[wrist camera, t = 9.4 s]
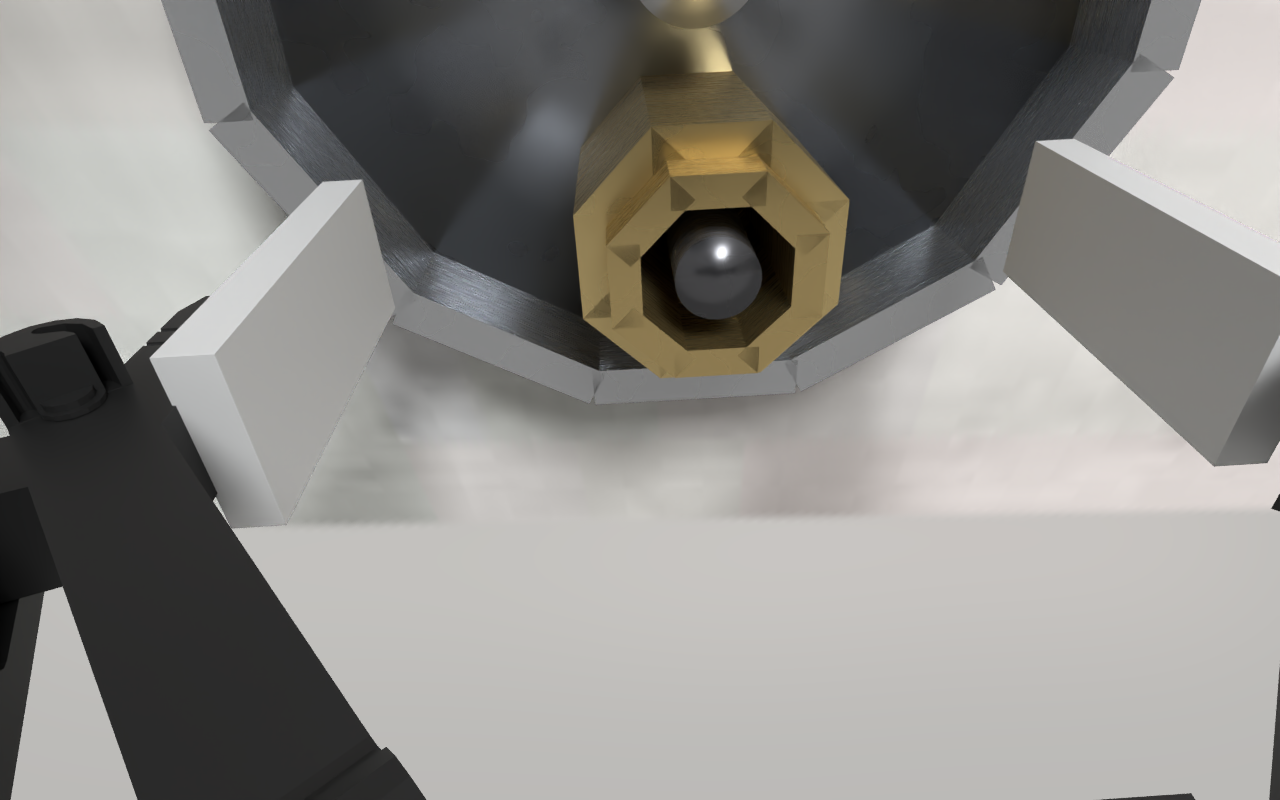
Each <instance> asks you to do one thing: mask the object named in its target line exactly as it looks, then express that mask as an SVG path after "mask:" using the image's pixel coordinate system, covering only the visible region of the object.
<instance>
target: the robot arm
mask: <svg viewBox="0 0 1280 800" xmlns="http://www.w3.org/2000/svg"><path fill="white" fill-rule="evenodd" d="M1003 272H1004V273H1005V274H1006V275H1007V276H1008V277H1009V278H1010V279H1011V280H1012V281H1013V282H1015V283H1016V284H1017V285H1018V286H1019V287H1020V288H1021V289H1022V290H1023V291H1024V292H1025V293H1026V294H1028V295H1029V296H1030V297H1031V298H1032V299H1033V300H1034V301H1035V302H1036V303H1037V304H1038V305H1039V306H1041V307H1042V308H1043V309H1044V310H1045V311H1046V312H1047V313H1048V314H1049V315H1050V316H1051V317H1052V318H1054V319H1055V320H1056V321H1057V322H1058V323H1059V324H1060V325H1061V326H1062V327H1063V328H1064V329H1066V330H1067V331H1068V332H1069V333H1070V334H1071V335H1072V336H1073V337H1074V338H1075V339H1076V340H1077V341H1079V342H1080V343H1081V344H1082V345H1083V346H1084V347H1085V348H1086V349H1087V350H1088V351H1089V352H1090V353H1092V354H1093V355H1094V356H1095V357H1096V358H1097V359H1098V360H1099V361H1100V362H1101V363H1102V364H1103V365H1105V366H1106V367H1107V368H1108V369H1109V370H1110V371H1111V372H1112V373H1113V374H1114V375H1115V376H1116V377H1118V378H1119V379H1120V380H1121V381H1122V382H1123V383H1124V384H1125V385H1126V386H1127V387H1128V388H1129V389H1131V390H1132V391H1133V392H1134V393H1135V394H1136V395H1137V396H1138V397H1139V398H1140V399H1141V400H1143V401H1144V402H1145V403H1146V404H1147V405H1148V406H1149V407H1150V408H1151V409H1152V410H1153V411H1154V412H1156V413H1157V414H1158V415H1159V416H1160V417H1161V418H1162V419H1163V420H1164V421H1165V422H1166V423H1167V424H1169V425H1170V426H1171V427H1172V428H1173V429H1174V430H1175V431H1176V432H1177V433H1178V434H1179V435H1180V436H1182V437H1183V438H1184V439H1185V440H1186V441H1187V442H1188V443H1189V444H1190V445H1191V446H1192V447H1193V448H1195V449H1196V450H1197V451H1198V452H1199V453H1200V454H1201V455H1202V456H1203V457H1204V458H1205V459H1207V460H1208V461H1209V462H1210V463H1211V464H1212V465H1213V466H1228V465H1244V464H1259V463H1268V461H1269V459H1270V457H1271V455H1272V454H1273V452H1274V450H1275V448H1276V446H1277V445H1278V443H1279V441H1280V242H1278V241H1276V240H1274V239H1272V238H1271V237H1269V236H1267V235H1265V234H1263V233H1261V232H1259V231H1257V230H1255V229H1253V228H1251V227H1249V226H1247V225H1245V224H1243V223H1241V222H1239V221H1237V220H1235V219H1233V218H1231V217H1229V216H1227V215H1225V214H1223V213H1221V212H1219V211H1217V210H1215V209H1213V208H1211V207H1209V206H1207V205H1205V204H1203V203H1201V202H1199V201H1197V200H1195V199H1193V198H1191V197H1189V196H1187V195H1185V194H1183V193H1181V192H1179V191H1177V190H1175V189H1173V188H1171V187H1169V186H1167V185H1165V184H1163V183H1161V182H1159V181H1157V180H1155V179H1153V178H1151V177H1149V176H1147V175H1145V174H1143V173H1141V172H1139V171H1137V170H1135V169H1133V168H1131V167H1129V166H1127V165H1125V164H1123V163H1121V162H1119V161H1117V160H1116V159H1114V158H1112V157H1110V156H1108V155H1106V154H1104V153H1102V152H1100V151H1098V150H1096V149H1094V148H1092V147H1090V146H1088V145H1086V144H1084V143H1082V142H1080V141H1078V140H1076V139H1063V140H1045V141H1035V145H1034V149H1033V153H1032V157H1031V161H1030V165H1029V169H1028V173H1027V177H1026V181H1025V185H1024V189H1023V193H1022V197H1021V201H1020V205H1019V209H1018V213H1017V217H1016V221H1015V225H1014V229H1013V233H1012V237H1011V241H1010V245H1009V249H1008V253H1007V257H1006V261H1005V265H1004V270H1003ZM394 309H395V305H394V301H393V297H392V293H391V289H390V286H389V282H388V278H387V274H386V270H385V266H384V262H383V258H382V254H381V250H380V246H379V242H378V238H377V234H376V230H375V227H374V223H373V219H372V215H371V211H370V207H369V203H368V199H367V195H366V191H365V187H364V183H363V180H345V181H328V182H322V183H321V184H320V185H319V186H318V187H317V188H316V189H315V190H314V191H313V192H312V193H311V194H310V195H309V196H308V197H307V198H306V199H305V200H304V201H303V202H302V203H301V204H300V205H299V206H298V207H297V208H296V209H295V210H294V211H293V212H292V213H291V215H290V216H289V217H288V218H287V219H286V220H285V221H284V222H283V223H282V224H281V225H280V226H279V227H278V228H277V229H276V230H275V231H274V232H273V233H272V234H271V235H270V236H269V237H268V238H267V239H266V240H265V241H264V242H263V243H262V244H261V245H260V246H259V247H258V248H257V249H256V250H255V251H254V252H253V253H252V254H251V255H250V256H249V257H248V258H247V259H246V260H245V261H244V262H243V263H242V264H241V265H240V266H239V267H238V268H237V269H236V271H235V272H234V273H233V274H232V275H231V276H230V277H229V278H228V279H227V280H226V281H225V282H224V283H223V284H222V285H221V286H220V287H219V288H218V289H217V290H216V291H215V292H214V293H213V294H212V295H211V296H206V297H204V298H202V299H200V300H198V301H197V302H195V303H193V304H191V305H189V306H188V307H186V308H184V309H182V310H180V311H179V312H177V313H176V314H175V315H174V316H173V317H172V318H171V319H170V320H169V321H168V322H167V323H166V324H165V325H164V326H163V327H162V328H161V332H157V333H156V334H155V335H154V336H153V337H152V338H151V339H150V340H149V341H148V342H147V346H143V347H142V348H140V349H139V350H138V351H137V352H136V353H135V354H134V355H133V356H132V357H131V358H130V359H129V360H128V361H127V362H126V363H125V364H124V363H123V361H122V359H121V357H120V355H119V353H118V351H117V350H116V348H115V346H114V344H113V342H112V340H111V338H110V336H109V334H108V332H107V330H106V328H105V326H104V325H103V324H101V323H100V322H98V321H96V320H91V319H80V318H75V319H66V320H56V321H51V322H47V323H43V324H39V325H34V326H30V327H27V328H24V329H22V330H19V331H16V332H13V333H11V334H8V335H5V336H3V337H1V338H0V418H1V419H2V421H3V422H4V424H5V425H6V427H7V429H8V432H9V434H10V436H7V437H3V438H0V800H10V799H11V793H12V787H13V781H14V775H15V768H16V762H17V756H18V750H19V744H20V738H21V732H22V726H23V719H24V713H25V707H26V700H27V695H28V689H29V682H30V676H31V670H32V664H33V658H34V652H35V645H36V639H37V633H38V627H39V621H40V615H41V608H42V602H43V596H44V592H45V591H48V590H52V589H55V588H58V587H62V586H63V588H64V591H65V594H66V597H67V599H68V603H69V605H70V608H71V611H72V614H73V616H74V620H75V623H76V625H77V628H78V631H79V634H80V637H81V640H82V642H83V645H84V648H85V651H86V654H87V656H88V660H89V662H90V665H91V668H92V671H93V674H94V677H95V680H96V682H97V685H98V688H99V691H100V694H101V697H102V699H103V702H104V705H105V708H106V711H107V713H108V716H109V719H110V722H111V725H112V728H113V731H114V733H115V737H116V739H117V742H118V745H119V748H120V751H121V754H122V756H123V759H124V762H125V765H126V768H127V771H128V773H129V776H130V779H131V782H132V785H133V788H134V791H135V794H136V796H137V799H138V800H426V799H425V797H424V796H423V794H422V793H421V791H420V790H419V788H418V787H417V785H416V784H415V783H414V781H413V779H412V778H411V777H410V775H409V774H408V773H407V771H406V770H405V768H404V767H403V766H402V764H401V763H400V762H399V760H398V759H397V758H396V756H395V755H394V754H393V753H392V752H391V751H390V750H389V749H388V748H387V747H385V748H384V749H382V750H381V749H380V748H379V747H378V746H377V745H376V743H375V742H374V740H373V739H372V738H371V736H370V735H369V733H368V732H367V731H366V729H365V727H364V726H363V724H362V723H361V722H360V720H359V718H358V717H357V715H356V714H355V713H354V711H353V710H352V708H351V707H350V705H349V704H348V702H347V701H346V699H345V698H344V696H343V695H342V693H341V692H340V690H339V689H338V687H337V686H336V684H335V683H334V681H333V680H332V678H331V677H330V675H329V674H328V673H327V671H326V670H325V668H324V666H323V665H322V663H321V662H320V660H319V659H318V657H317V656H316V654H315V653H314V651H313V650H312V648H311V647H310V645H309V644H308V642H307V641H306V640H305V638H304V637H303V635H302V634H301V632H300V631H299V629H298V628H297V626H296V625H295V623H294V622H293V620H292V619H291V617H290V616H289V614H288V613H287V611H286V610H285V608H284V607H283V605H282V604H281V603H280V601H279V600H278V598H277V596H276V595H275V593H274V592H273V590H272V589H271V587H270V586H269V584H268V583H267V581H266V580H265V578H264V577H263V575H262V574H261V572H260V571H259V569H258V568H257V567H256V565H255V564H254V562H253V561H252V559H251V558H250V556H249V555H248V553H247V552H246V550H245V549H244V547H243V546H242V544H241V543H240V541H239V540H238V538H237V537H236V535H235V534H234V532H233V531H232V529H231V528H246V527H262V526H278V525H287V523H288V521H289V519H290V517H291V515H292V513H293V511H294V509H295V507H296V505H297V503H298V501H299V499H300V497H301V495H302V493H303V491H304V489H305V487H306V485H307V483H308V481H309V479H310V477H311V475H312V473H313V471H314V469H315V467H316V465H317V463H318V461H319V459H320V457H321V455H322V453H323V451H324V449H325V447H326V445H327V443H328V441H329V439H330V437H331V435H332V433H333V431H334V429H335V427H336V425H337V423H338V421H339V419H340V417H341V415H342V413H343V411H344V409H345V407H346V405H347V403H348V401H349V399H350V397H351V395H352V393H353V391H354V389H355V387H356V385H357V383H358V381H359V379H360V377H361V375H362V373H363V371H364V369H365V367H366V365H367V363H368V361H369V359H370V357H371V355H372V353H373V351H374V349H375V347H376V345H377V343H378V341H379V339H380V337H381V335H382V333H383V331H384V329H385V327H386V325H387V323H388V321H389V319H390V317H391V315H392V313H393V311H394ZM215 497H216V498H217V500H218V502H219V504H220V506H221V508H222V510H223V512H224V514H225V516H226V519H227V521H228V523H229V525H230V526H229V525H228V523H227V522H226V520H225V519H224V517H223V516H222V514H221V513H220V511H219V510H218V508H217V507H216V505H215V504H214V502H213V500H214V498H215ZM1271 509H1274V510H1277V511H1280V494H1279V496H1278V498H1277V500H1276V501H1275V503H1274V505H1273V506H1272V508H1271ZM230 527H231V528H230ZM1269 799H1270V800H1280V671H1279V684H1278V696H1277V710H1276V722H1275V734H1274V748H1273V760H1272V773H1271V785H1270V798H1269ZM1103 800H1195V799H1194V797H1193V796H1192V794H1191V793H1190V794H1177V795H1161V796H1147V797H1132V798H1118V799H1103Z"/></svg>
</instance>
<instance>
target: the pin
mask: <svg viewBox="0 0 1280 800" xmlns="http://www.w3.org/2000/svg"><path fill="white" fill-rule="evenodd" d="M665 234H666V239H667V244H668V250H669V255H670V260H671V266H672V271H673V276H674V282H675V287H676V291H677V295H678V297H679V299H680V301H681V303H682V304H683V305H684V306H685V307H686V308H687V309H688V310H689V311H690V312H692V313H693V314H695V315H697V316H699V317H702V318H706V319H725V318H729V317H732V316H735V315H737V314H739V313H740V312H742V311H743V310H745V309H746V308H747V307H748V306H749V305H750V304H751V303H752V302H753V301H754V299H755V298H756V296H757V294H758V292H759V290H760V287H761V282H762V270H761V266H760V263H759V261H758V258H757V256H756V254H755V252H754V249H753V247H752V245H751V243H750V240H749V238H748V236H747V234H746V231H745V229H744V227H743V225H742V222H741V220H740V218H739V216H738V213H737V211H736V209H735V208H719V209H702V210H685V211H684V212H683V213H682V214H681V215H680V217H679V218H678V219H677V220H676V221H675V222H674V223H673V224H672V225H671V226H670V227H669V228H668V229H667V230H666V231H665Z"/></svg>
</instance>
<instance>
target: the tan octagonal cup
mask: <svg viewBox="0 0 1280 800" xmlns="http://www.w3.org/2000/svg"><path fill="white" fill-rule="evenodd" d="M849 201H850V200H849V198H848V197H847V196H846V195H845V194H844V193H843V192H842V190H841V189H840V188H839V187H838V186H837V185H836V183H835V182H834V181H833V180H832V179H831V178H830V176H829V175H828V174H827V173H826V172H825V171H824V170H823V168H822V167H821V166H820V165H819V164H818V163H817V161H816V160H815V159H814V158H813V157H812V156H811V154H810V153H809V152H808V151H807V150H806V149H805V147H804V146H803V145H802V144H801V143H800V142H799V141H798V139H797V138H796V137H795V136H794V135H793V134H792V133H791V132H790V131H789V130H788V129H787V128H786V127H785V125H784V124H783V123H782V122H781V121H780V120H779V119H778V118H777V117H776V116H775V115H774V114H773V113H772V112H771V111H770V110H769V109H768V108H767V107H766V106H765V104H764V103H763V102H762V101H761V100H760V99H759V98H758V97H757V96H756V95H755V94H754V93H753V92H752V91H751V90H750V89H749V88H748V87H747V86H746V85H745V84H744V82H743V81H742V80H741V79H740V78H739V77H738V76H737V75H736V74H735V73H734V72H733V71H723V72H705V73H688V74H670V75H652V76H640V77H639V78H638V79H637V81H636V82H635V83H634V84H633V85H632V87H631V88H630V89H629V90H628V91H627V93H626V94H625V95H624V96H623V97H622V98H621V100H620V101H619V102H618V103H617V104H616V106H615V107H614V108H613V109H612V110H611V112H610V113H609V114H608V115H607V116H606V117H605V119H604V120H603V121H602V122H601V123H600V125H599V126H598V127H597V128H596V129H595V131H594V132H593V133H592V134H591V135H590V136H589V138H588V139H587V140H586V141H585V142H584V144H583V145H582V146H581V149H580V158H579V167H578V176H577V185H576V194H575V203H574V212H573V220H574V230H575V240H576V250H577V260H578V271H579V281H580V291H581V301H582V312H583V319H584V320H585V321H587V322H588V323H589V324H591V325H592V326H593V327H594V328H596V329H597V330H598V331H600V332H601V333H602V334H603V335H605V336H606V337H607V338H609V339H610V340H611V341H613V342H614V343H615V344H616V345H618V346H619V347H620V348H622V349H623V350H624V351H626V352H627V353H628V354H629V355H631V356H632V357H633V358H635V359H636V360H637V361H639V362H640V363H641V364H642V365H644V366H645V367H646V368H648V369H649V370H650V371H651V372H653V373H654V374H655V375H657V376H658V377H659V378H684V377H701V376H718V375H734V374H751V373H759V372H761V371H763V370H764V369H765V368H766V367H767V366H768V365H769V364H771V363H772V362H773V361H774V360H775V359H776V358H777V357H778V356H780V355H781V354H782V353H783V352H784V351H785V350H786V349H788V348H789V347H790V346H791V345H792V344H793V343H794V342H795V341H797V340H798V339H799V338H800V337H801V336H802V335H803V334H805V333H806V332H807V331H808V330H809V329H810V328H811V327H812V326H814V325H815V324H816V323H817V322H818V321H819V320H820V319H822V318H823V317H824V316H825V315H826V314H827V313H828V312H830V311H831V310H832V309H833V308H834V307H835V306H836V305H837V304H838V301H839V292H840V282H841V273H842V264H843V255H844V246H845V237H846V228H847V219H848V210H849ZM737 207H739V208H738V209H737V210H736V211H737V213H738V216H739V218H740V220H741V222H742V225H743V227H744V229H745V231H746V234H747V236H748V238H749V240H750V243H751V245H752V247H753V249H754V252H755V254H756V256H757V258H758V261H759V263H760V266H761V270H762V282H761V287H760V290H759V292H758V294H757V296H756V298H755V299H754V301H753V302H752V303H751V304H750V305H749V306H748V307H747V308H746V309H745V310H743V311H742V312H740V313H739V314H737V315H735V316H732V317H729V318H725V319H706V318H702V317H699V316H697V315H695V314H693V313H692V312H690V311H689V310H688V309H687V308H686V307H685V306H684V305H683V304H682V303H681V301H680V299H679V297H678V295H677V291H676V287H675V282H674V276H673V271H672V266H671V260H670V255H669V250H668V244H667V239H666V238H664V237H663V236H662V234H663V233H664V232H665V231H666V230H667V229H668V228H669V227H670V226H671V225H672V224H673V223H674V222H675V221H676V220H677V219H678V218H679V217H680V215H681V214H682V213H683V212H684V211H685V210H702V209H719V208H737Z"/></svg>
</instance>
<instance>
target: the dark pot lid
mask: <svg viewBox="0 0 1280 800" xmlns="http://www.w3.org/2000/svg"><path fill="white" fill-rule="evenodd" d="M161 1H162V4H163V7H164V10H165V12H166V15H167V18H168V21H169V24H170V27H171V30H172V32H173V35H174V38H175V41H176V44H177V47H178V50H179V52H180V55H181V58H182V61H183V64H184V67H185V70H186V72H187V75H188V78H189V81H190V84H191V87H192V90H193V92H194V95H195V98H196V101H197V104H198V107H199V110H200V112H201V115H202V118H203V121H204V123H216V122H219V123H217V124H216V125H215V126H214V127H213V128H211V129H210V130H209V131H210V132H211V133H212V134H213V136H214V137H215V138H216V139H217V140H218V141H219V142H220V143H221V144H222V145H223V146H224V147H225V148H226V149H227V150H228V152H229V153H230V154H231V155H232V156H233V157H234V158H235V159H236V160H237V161H238V162H239V163H240V164H241V165H242V166H243V168H244V169H245V170H246V171H247V172H248V173H249V174H250V175H251V176H252V177H253V178H254V179H255V180H256V181H257V182H258V184H259V185H260V186H261V187H262V188H263V189H264V190H265V191H266V192H267V193H268V194H269V195H270V196H271V197H272V198H273V200H274V201H275V202H276V203H277V204H278V205H279V206H280V207H281V208H282V209H283V210H284V211H285V212H286V213H287V214H288V216H290V215H291V213H292V212H293V211H294V210H295V209H296V208H297V207H298V206H299V205H300V204H301V203H302V202H303V201H304V200H305V199H306V198H307V197H308V196H309V195H310V194H311V193H312V192H313V191H314V190H315V189H316V188H317V187H318V186H319V185H320V184H321V183H322V182H328V181H345V180H363V183H364V187H365V191H366V195H367V199H368V203H369V207H370V211H371V215H372V219H373V223H374V227H375V230H376V234H377V238H378V242H379V246H380V250H381V254H382V258H383V262H384V266H385V270H386V274H387V278H388V282H389V286H390V289H391V293H392V297H393V301H394V305H395V309H394V311H393V313H392V315H391V317H392V316H394V315H395V314H396V315H395V318H394V320H393V323H392V324H393V325H396V326H398V327H401V328H403V329H406V330H408V331H411V332H413V333H416V334H418V335H421V336H423V337H426V338H428V339H430V340H433V341H435V342H438V343H440V344H443V345H445V346H448V347H450V348H453V349H455V350H458V351H460V352H463V353H465V354H468V355H470V356H472V357H475V358H477V359H480V360H482V361H485V362H487V363H490V364H492V365H495V366H497V367H500V368H502V369H505V370H507V371H509V372H512V373H514V374H517V375H519V376H522V377H524V378H527V379H529V380H532V381H534V382H537V383H539V384H542V385H544V386H547V387H549V388H551V389H554V390H556V391H559V392H561V393H564V394H566V395H569V396H571V397H574V398H576V399H579V400H581V401H584V402H586V403H590V402H591V400H592V398H593V396H594V398H595V405H599V404H616V403H634V402H651V401H668V400H685V399H703V398H720V397H737V396H754V395H771V394H789V393H795V390H796V384H797V386H798V387H799V389H800V391H803V390H805V389H807V388H809V387H811V386H813V385H814V384H816V383H818V382H820V381H822V380H824V379H826V378H828V377H830V376H832V375H834V374H835V373H837V372H839V371H841V370H843V369H845V368H847V367H849V366H851V365H853V364H854V363H856V362H858V361H860V360H862V359H864V358H866V357H868V356H870V355H872V354H874V353H875V352H877V351H879V350H881V349H883V348H885V347H887V346H889V345H891V344H893V343H895V342H896V341H898V340H900V339H902V338H904V337H906V336H908V335H910V334H912V333H914V332H916V331H917V330H919V329H921V328H923V327H925V326H927V325H929V324H931V323H933V322H935V321H937V320H938V319H940V318H942V317H944V316H946V315H948V314H950V313H952V312H954V311H956V310H958V309H959V308H961V307H963V306H965V305H967V304H969V303H971V302H973V301H975V300H977V299H979V298H980V297H982V296H984V295H986V294H988V293H990V292H992V291H994V290H996V289H995V287H994V284H993V282H992V280H993V281H994V282H996V283H998V284H1000V285H1002V283H1003V282H1004V281H1005V280H1006V279H1007V277H1008V276H1007V275H1006V274H1005V273H1004V272H1003V270H1004V265H1005V261H1006V257H1007V253H1008V249H1009V245H1010V241H1011V237H1012V233H1013V229H1014V225H1015V221H1016V217H1017V213H1018V209H1019V205H1020V201H1021V197H1022V193H1023V189H1024V185H1025V181H1026V177H1027V173H1028V169H1029V165H1030V161H1031V157H1032V153H1033V149H1034V145H1035V141H1045V140H1063V139H1076V140H1078V141H1080V142H1082V143H1084V144H1086V145H1088V146H1090V147H1092V148H1094V149H1096V150H1098V151H1100V152H1102V153H1104V154H1106V155H1108V156H1109V155H1110V154H1111V153H1112V152H1113V150H1114V149H1115V148H1116V147H1117V146H1118V144H1119V143H1120V142H1121V141H1122V140H1123V138H1124V137H1125V136H1126V135H1127V134H1128V132H1129V131H1130V130H1131V129H1132V128H1133V126H1134V125H1135V124H1136V123H1137V122H1138V120H1139V119H1140V118H1141V117H1142V116H1143V114H1144V113H1145V112H1146V111H1147V110H1148V108H1149V107H1150V106H1151V105H1152V104H1153V102H1154V101H1155V100H1156V99H1157V98H1158V96H1159V95H1160V94H1161V93H1162V92H1163V90H1164V89H1165V88H1166V87H1167V86H1168V84H1169V83H1170V82H1171V81H1172V80H1173V78H1174V77H1173V76H1171V75H1170V74H1168V73H1167V72H1166V71H1165V70H1179V67H1180V64H1181V61H1182V58H1183V55H1184V52H1185V49H1186V45H1187V42H1188V39H1189V36H1190V33H1191V30H1192V27H1193V24H1194V21H1195V18H1196V15H1197V12H1198V9H1199V6H1200V3H1201V0H161ZM723 71H733V72H734V73H735V74H736V75H737V76H738V77H739V78H740V79H741V80H742V81H743V82H744V84H745V85H746V86H747V87H748V88H749V89H750V90H751V91H752V92H753V93H754V94H755V95H756V96H757V97H758V98H759V99H760V100H761V101H762V102H763V103H764V104H765V106H766V107H767V108H768V109H769V110H770V111H771V112H772V113H773V114H774V115H775V116H776V117H777V118H778V119H779V120H780V121H781V122H782V123H783V124H784V125H785V127H786V128H787V129H788V130H789V131H790V132H791V133H792V134H793V135H794V136H795V137H796V138H797V139H798V141H799V142H800V143H801V144H802V145H803V146H804V147H805V149H806V150H807V151H808V152H809V153H810V154H811V156H812V157H813V158H814V159H815V160H816V161H817V163H818V164H819V165H820V166H821V167H822V168H823V170H824V171H825V172H826V173H827V174H828V175H829V176H830V178H831V179H832V180H833V181H834V182H835V183H836V185H837V186H838V187H839V188H840V189H841V190H842V192H843V193H844V194H845V195H846V196H847V197H848V198H849V200H850V201H849V210H848V219H847V228H846V237H845V246H844V255H843V264H842V273H841V282H840V292H839V301H838V304H837V305H836V306H835V307H834V308H833V309H832V310H831V311H830V312H828V313H827V314H826V315H825V316H824V317H823V318H822V319H820V320H819V321H818V322H817V323H816V324H815V325H814V326H812V327H811V328H810V329H809V330H808V331H807V332H806V333H805V334H803V335H802V336H801V337H800V338H799V339H798V340H797V341H795V342H794V343H793V344H792V345H791V346H790V347H789V348H788V349H786V350H785V351H784V352H783V353H782V354H781V355H780V356H778V357H777V358H776V359H775V360H774V361H773V362H772V363H771V364H769V365H768V366H767V367H766V368H765V369H764V370H763V371H761V372H759V373H751V374H734V375H718V376H701V377H684V378H659V377H658V376H657V375H655V374H654V373H653V372H651V371H650V370H649V369H648V368H646V367H645V366H644V365H642V364H641V363H640V362H639V361H637V360H636V359H635V358H633V357H632V356H631V355H629V354H628V353H627V352H626V351H624V350H623V349H622V348H620V347H619V346H618V345H616V344H615V343H614V342H613V341H611V340H610V339H609V338H607V337H606V336H605V335H603V334H602V333H601V332H600V331H598V330H597V329H596V328H594V327H593V326H592V325H591V324H589V323H588V322H587V321H585V320H584V319H583V312H582V301H581V291H580V281H579V271H578V260H577V250H576V240H575V230H574V220H573V212H574V203H575V194H576V185H577V176H578V167H579V158H580V149H581V146H582V145H583V144H584V142H585V141H586V140H587V139H588V138H589V136H590V135H591V134H592V133H593V132H594V131H595V129H596V128H597V127H598V126H599V125H600V123H601V122H602V121H603V120H604V119H605V117H606V116H607V115H608V114H609V113H610V112H611V110H612V109H613V108H614V107H615V106H616V104H617V103H618V102H619V101H620V100H621V98H622V97H623V96H624V95H625V94H626V93H627V91H628V90H629V89H630V88H631V87H632V85H633V84H634V83H635V82H636V81H637V79H638V78H639V77H640V76H652V75H670V74H688V73H705V72H723ZM738 208H739V207H737V208H735V209H736V210H737V209H738ZM662 236H663V237H664V238H666V234H665V232H664V233H663V234H662ZM391 317H390V318H391Z"/></svg>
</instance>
